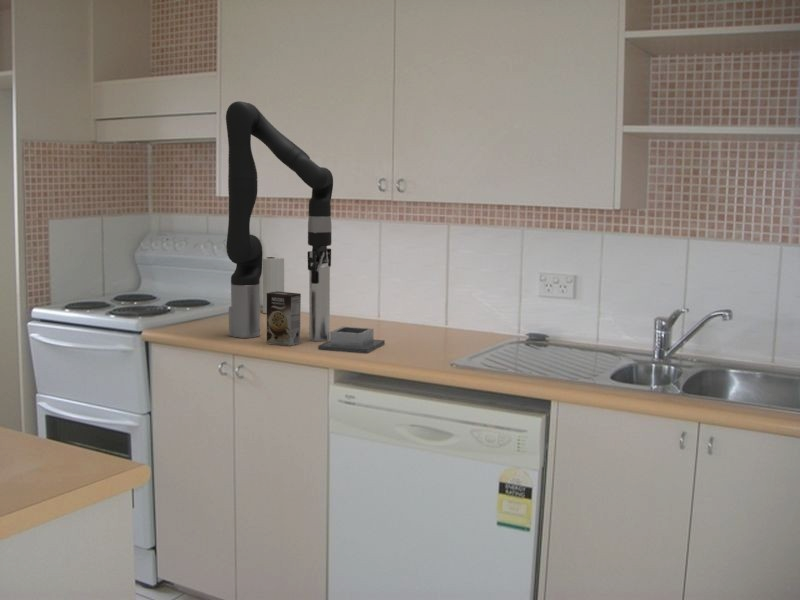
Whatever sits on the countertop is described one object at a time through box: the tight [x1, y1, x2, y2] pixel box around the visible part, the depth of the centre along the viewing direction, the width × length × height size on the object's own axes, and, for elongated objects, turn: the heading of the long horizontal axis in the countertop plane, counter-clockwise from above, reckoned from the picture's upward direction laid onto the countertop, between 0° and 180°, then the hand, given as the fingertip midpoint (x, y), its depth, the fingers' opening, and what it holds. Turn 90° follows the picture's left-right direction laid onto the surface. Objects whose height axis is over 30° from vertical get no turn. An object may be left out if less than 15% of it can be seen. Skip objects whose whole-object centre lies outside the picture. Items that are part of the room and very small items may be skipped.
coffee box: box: [266, 291, 302, 347], centre depth 281 cm, size 9×6×16 cm
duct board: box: [317, 326, 385, 354], centre depth 278 cm, size 16×16×5 cm
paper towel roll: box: [262, 256, 285, 315], centre depth 340 cm, size 7×6×21 cm
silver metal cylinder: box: [308, 263, 331, 342], centre depth 288 cm, size 6×6×25 cm
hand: (319, 282), depth 287 cm, fingers open, 7 cm apart
